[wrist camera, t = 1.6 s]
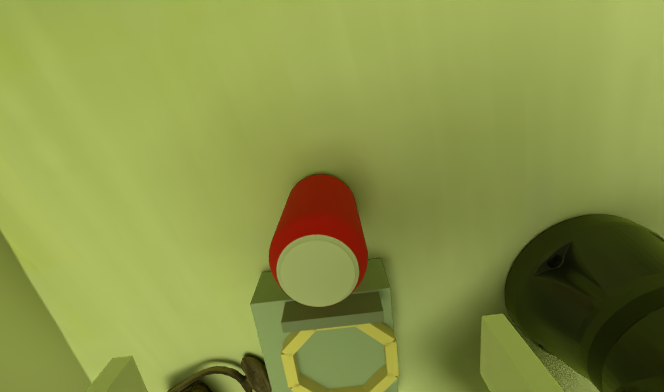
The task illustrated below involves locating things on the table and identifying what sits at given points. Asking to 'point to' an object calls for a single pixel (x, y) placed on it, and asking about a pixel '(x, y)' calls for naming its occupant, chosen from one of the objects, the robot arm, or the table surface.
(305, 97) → the table surface
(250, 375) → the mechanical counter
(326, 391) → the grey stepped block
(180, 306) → the table surface
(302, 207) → the beverage can
